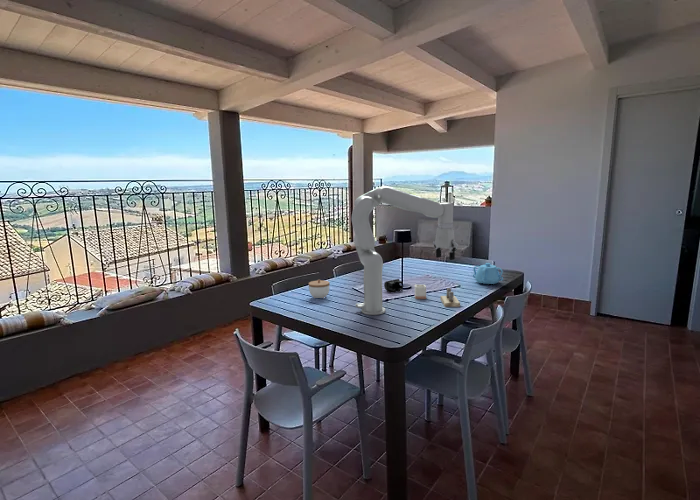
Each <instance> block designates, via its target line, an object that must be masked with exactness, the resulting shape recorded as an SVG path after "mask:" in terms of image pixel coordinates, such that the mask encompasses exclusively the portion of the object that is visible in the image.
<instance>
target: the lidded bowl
mask: <svg viewBox="0 0 700 500" xmlns="http://www.w3.org/2000/svg"><path fill="white" fill-rule="evenodd" d="M330 283H331V282H330V281H328V280H321V279H317V280H311V281H310V282H308V289H309V294H310V295H311V296H312V297H313V299H315V298H323V299H325V298H327V296H329V295H328V294H329V292H330ZM324 297H325V298H324Z"/></svg>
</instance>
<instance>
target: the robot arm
mask: <svg viewBox="0 0 700 500" xmlns="http://www.w3.org/2000/svg"><path fill="white" fill-rule="evenodd" d="M353 204H354V205H353V206H354V208H353V209H352V212H351V213H352V214H351V223H352V228H353V231H354V237H353V243H354V246H355V250H356V253H357V256H358V260H359V261H360V263H361V264H362V266H363V302H362V303H355V308H357V309H361V313H362V314H365V315H367V316H378V315H382V314H384V313H386V308H385V307H383V268H384V267H383V266H384V261H383V258H382V257H383V256H381V254H380V253H378V252H376V249H375V244H376V239H375V236H374V234H373V229H372V226H371V224H370V214H371V212H372V211H373V210H374V208H375V207H377V206H379V205H381V204H385V205H389V206H392V207H395V208H398V209H401V210H403V211H408V212H415V213H419V214H421V215H422V214H423V215H424V216H425V217H427V218H433V219H437V228H436V232H435V240H433V241H432V244H433V247H434V249H435V257H436V259H437V258H442V249H446V250H447V249H448V250H449V256H448V257H449V258H448V259H449V261H453V260H455V259H456V257H455V256H456V252H457V250H458V247H459V243H457V242H456V240H455V231H454V204H453V202H437V201H434V200H431V199H428V198H424V197H421V196H418V195H415V194H412V193H409V192H406V191H403V190H400V189H397V188H394V187H391V186H388V185H384V186H383V185H382V186H378V187H376V188H375V189H373V190H370V191H368V192H366V193H364V194H362V195H360V196H358V197H357V198H356V199H355V201H354V203H353Z"/></svg>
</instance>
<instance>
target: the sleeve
mask: <svg viewBox="0 0 700 500" xmlns="http://www.w3.org/2000/svg"><path fill="white" fill-rule="evenodd" d="M414 298H415V300H426V299H427V286H426V284H414Z"/></svg>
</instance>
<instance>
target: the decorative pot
mask: <svg viewBox="0 0 700 500" xmlns="http://www.w3.org/2000/svg"><path fill="white" fill-rule="evenodd" d="M476 268H477V270H476ZM499 270H500V271H499ZM503 273H504V271H503V269H502V268H501V267H497V266H496V265H494V264H492V263H490V262H485V264H482V265H475V266H474V267H473V274H472V278H474V280H475V281H476V282H477V283H478V284H479V283H483V285H484V284H485V285H489V284H493V285H495V284H497V283H499V282H500V281H503V280H504V277H502V275H503Z"/></svg>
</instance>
